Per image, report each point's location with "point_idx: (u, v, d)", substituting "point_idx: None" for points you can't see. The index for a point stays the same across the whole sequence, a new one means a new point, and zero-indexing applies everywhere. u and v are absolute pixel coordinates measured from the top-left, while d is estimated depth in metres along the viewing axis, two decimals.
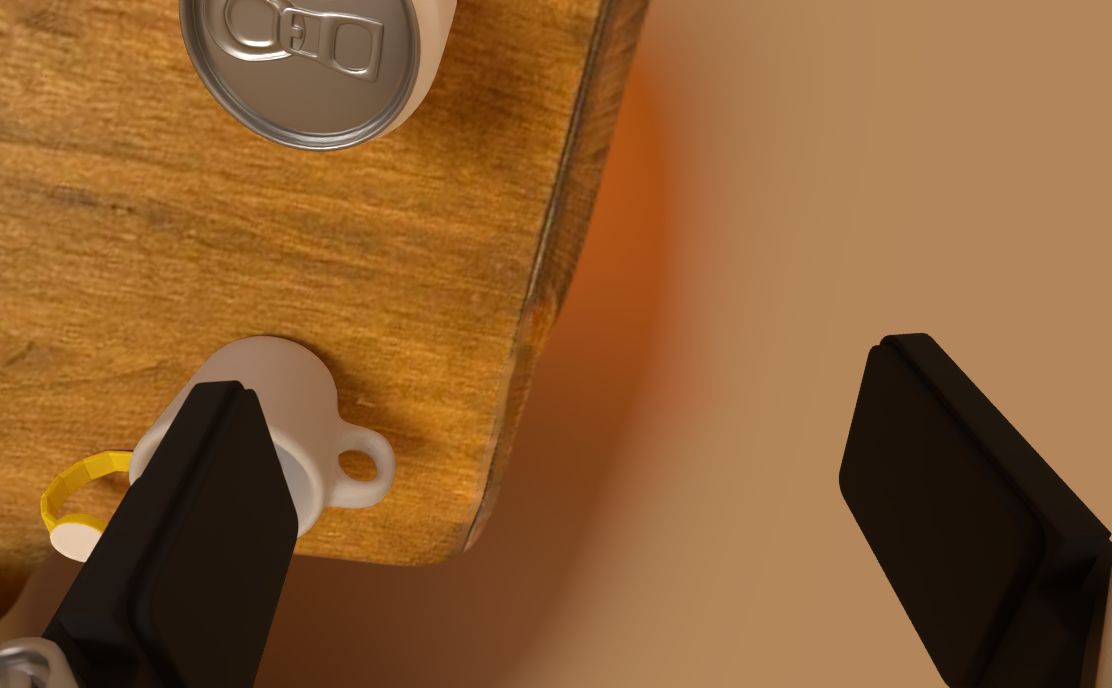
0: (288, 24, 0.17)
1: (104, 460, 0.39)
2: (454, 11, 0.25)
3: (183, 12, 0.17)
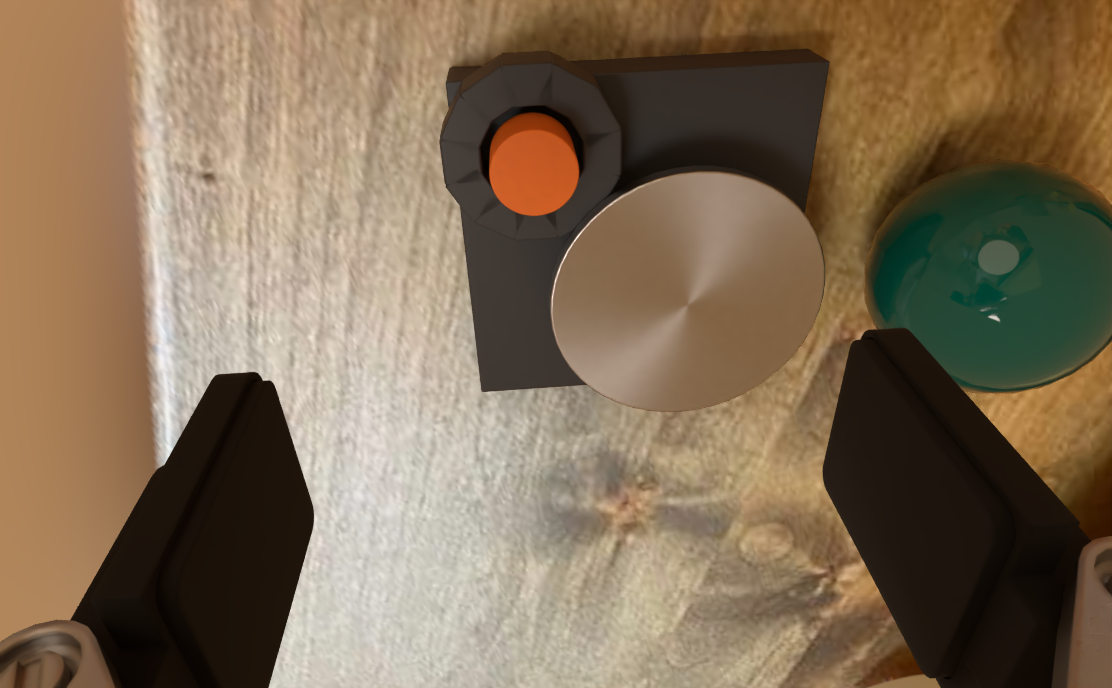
0: None
1: None
2: None
3: None
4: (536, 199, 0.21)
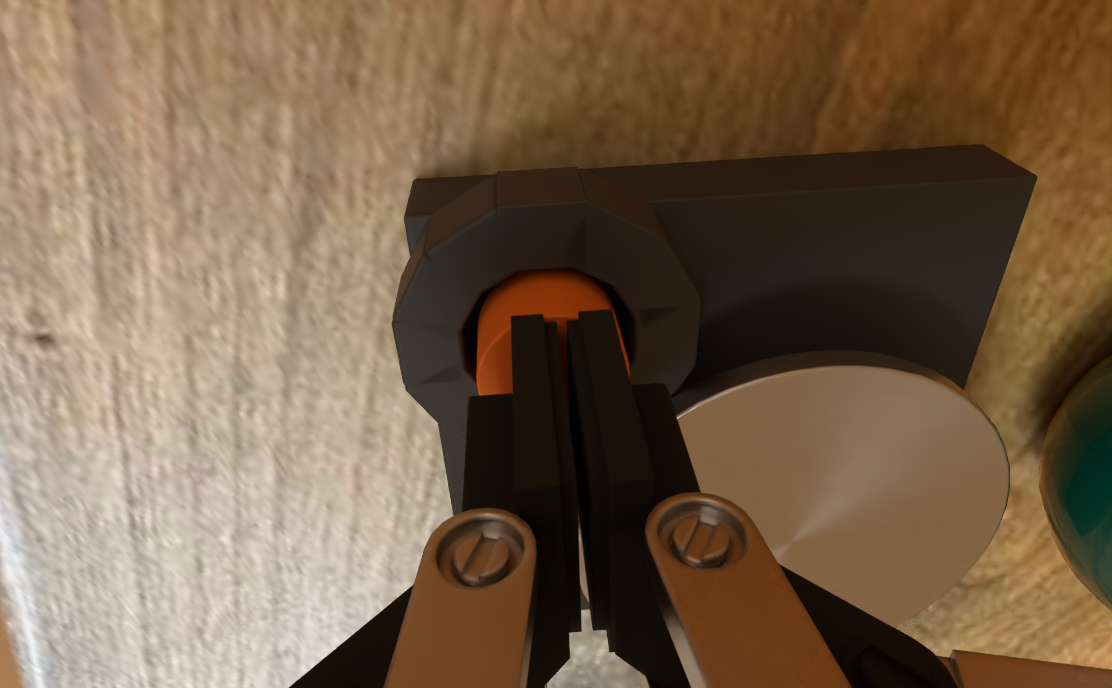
0: None
1: None
2: None
3: None
4: None
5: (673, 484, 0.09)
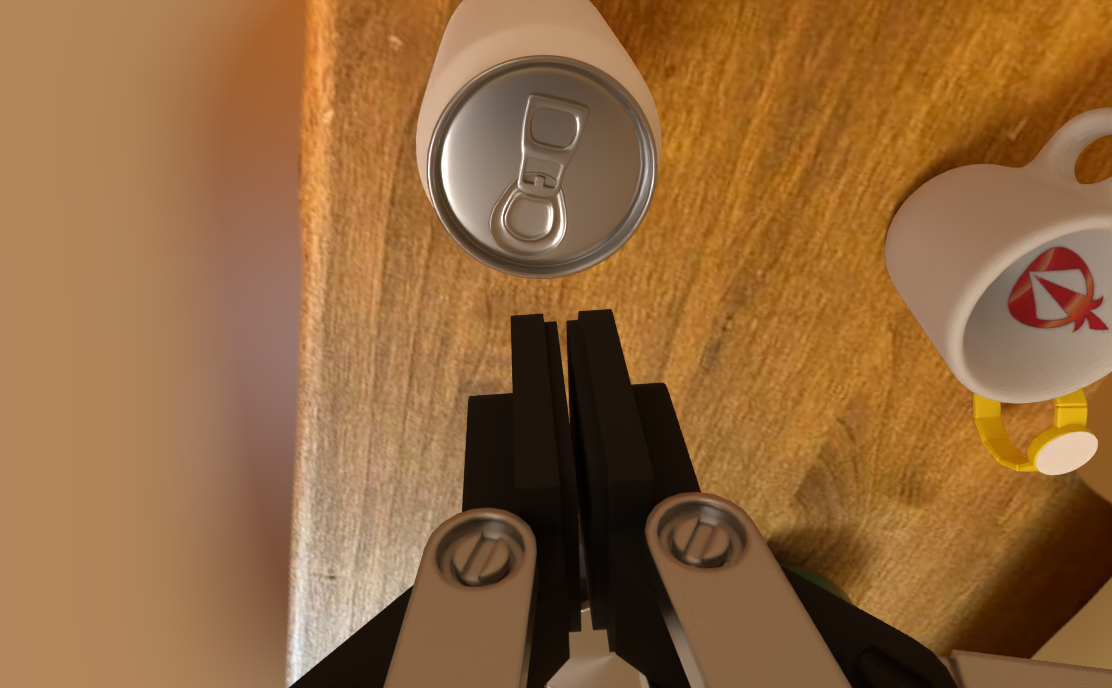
0: (533, 186, 0.18)
1: (983, 400, 0.38)
2: None
3: (524, 274, 0.19)
4: None
5: (673, 484, 0.09)
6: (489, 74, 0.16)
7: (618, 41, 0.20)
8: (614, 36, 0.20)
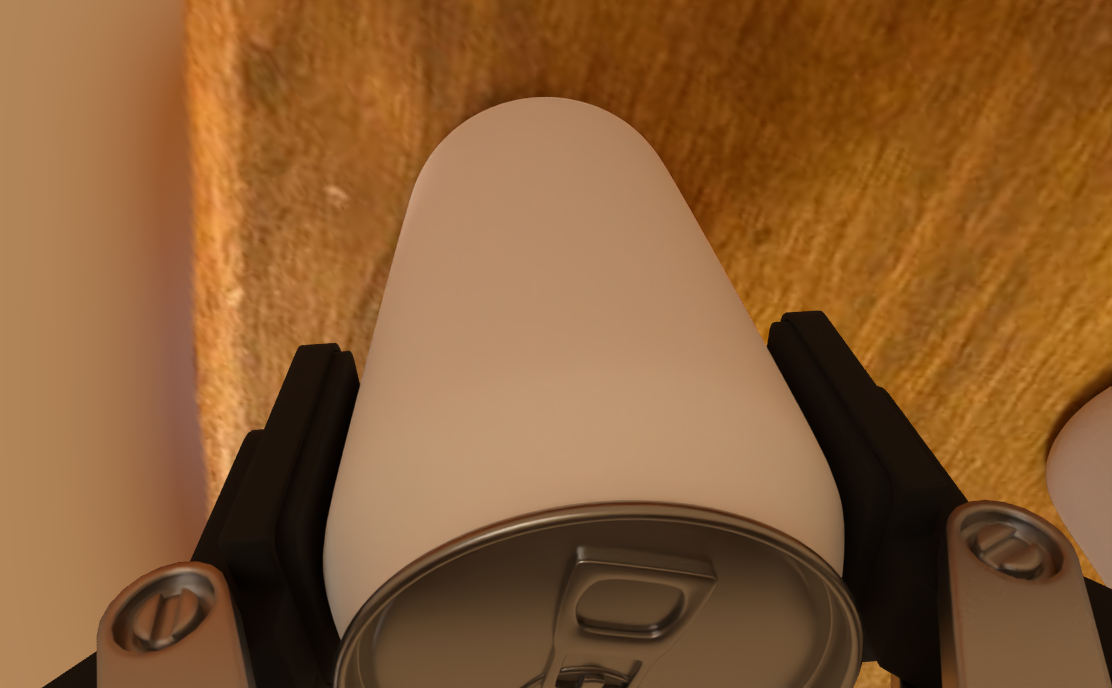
0: (576, 686, 0.08)
1: None
2: (594, 142, 0.13)
3: None
4: None
5: None
6: (481, 546, 0.06)
7: (738, 305, 0.10)
8: (728, 290, 0.10)
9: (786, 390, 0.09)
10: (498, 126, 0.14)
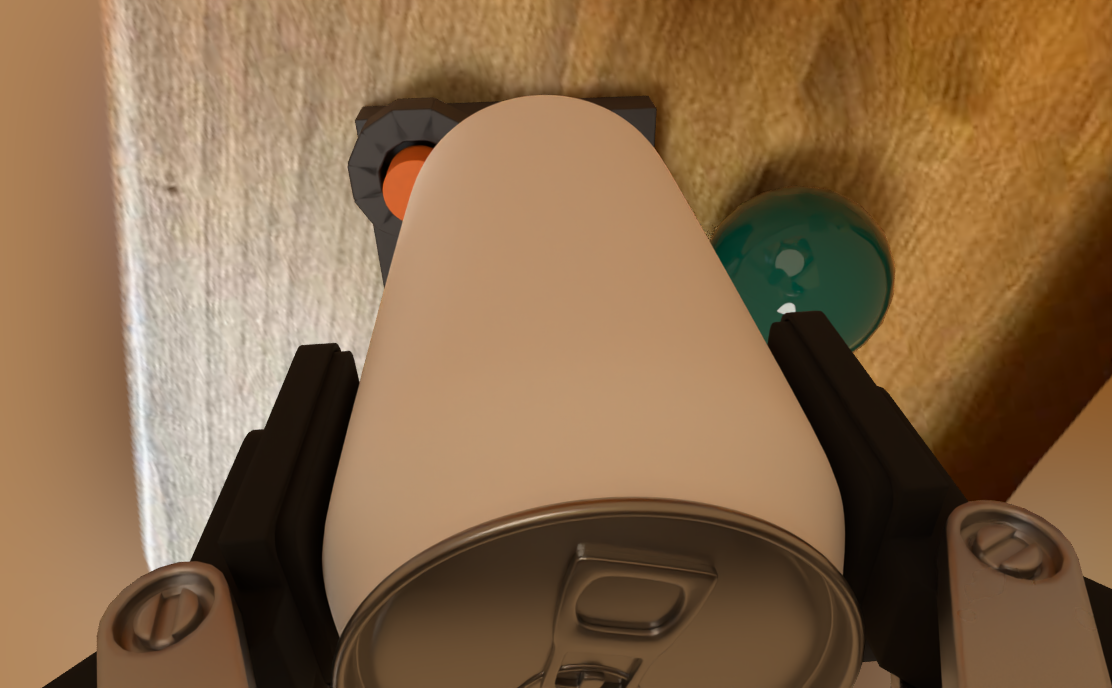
0: (575, 684, 0.08)
1: None
2: (594, 140, 0.13)
3: None
4: None
5: None
6: (480, 543, 0.06)
7: (738, 302, 0.10)
8: (728, 288, 0.10)
9: (786, 387, 0.09)
10: (498, 124, 0.14)
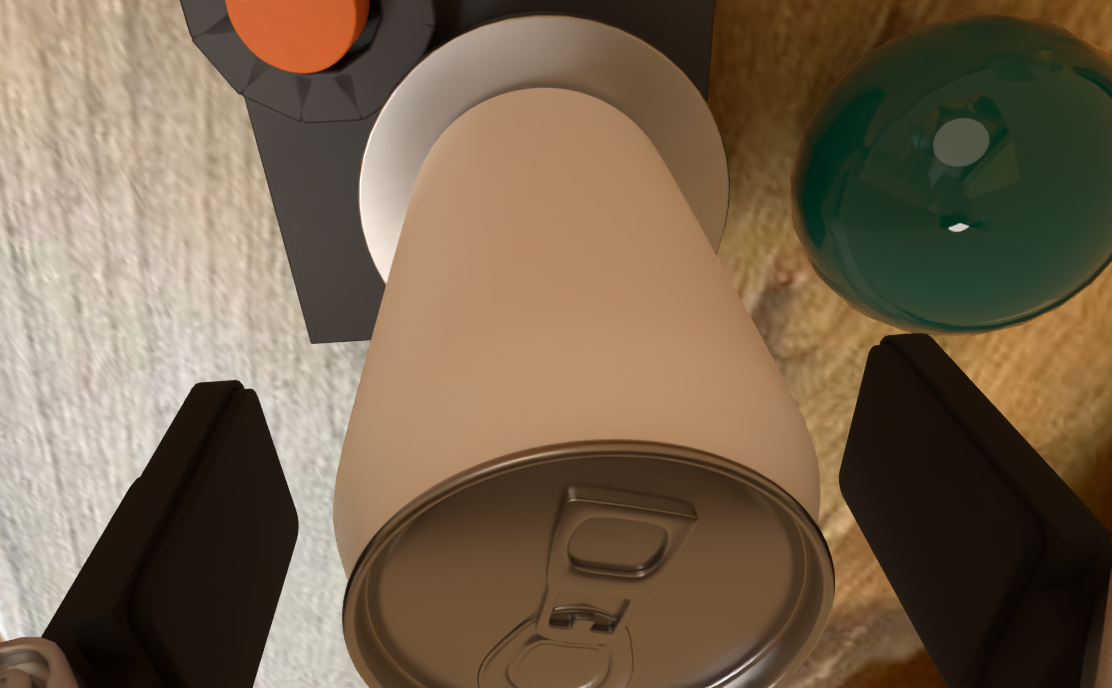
0: (568, 625, 0.09)
1: None
2: (590, 129, 0.14)
3: None
4: (300, 47, 0.15)
5: None
6: (479, 480, 0.07)
7: (724, 278, 0.11)
8: (714, 264, 0.11)
9: (766, 353, 0.09)
10: (499, 114, 0.15)
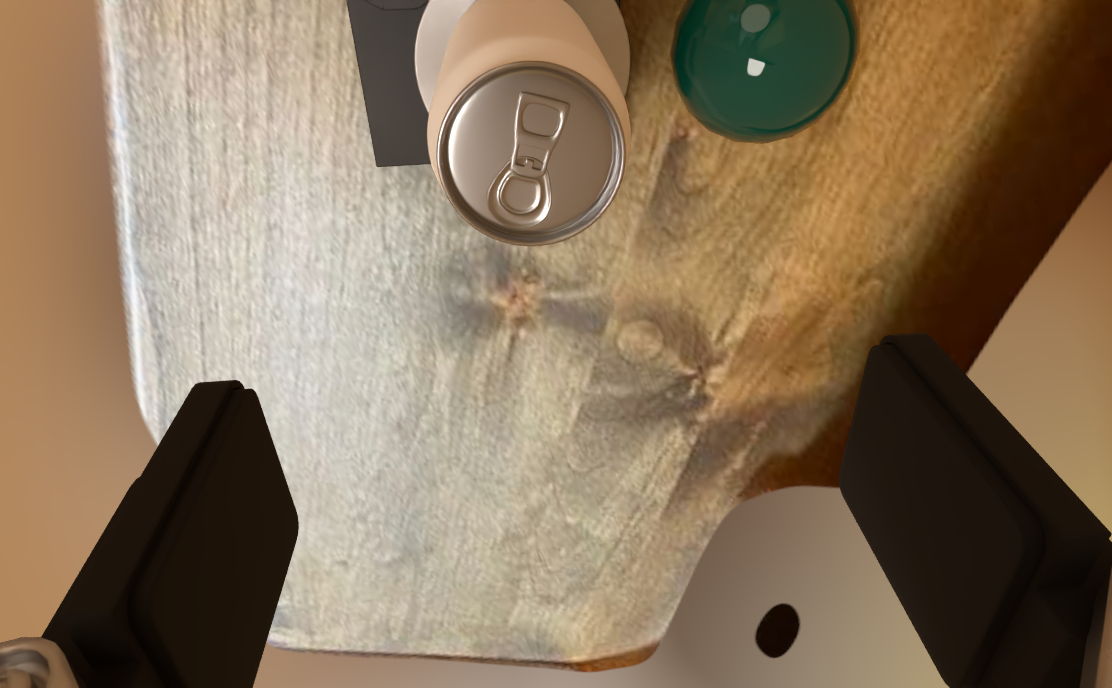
0: (523, 168, 0.22)
1: None
2: None
3: (516, 241, 0.23)
4: None
5: None
6: (489, 75, 0.20)
7: (597, 49, 0.24)
8: (594, 45, 0.24)
9: (607, 66, 0.22)
10: None
